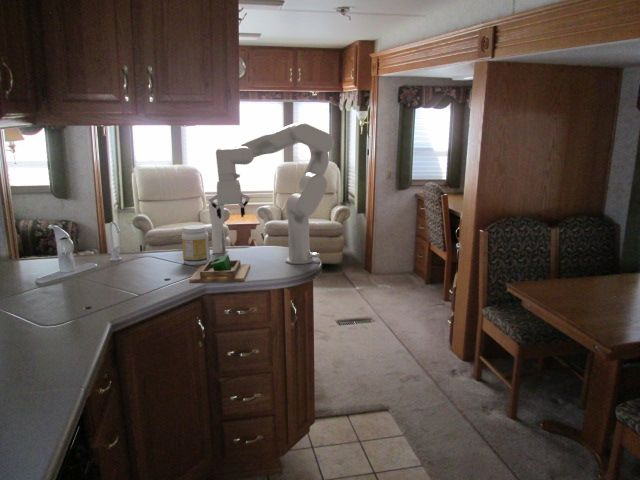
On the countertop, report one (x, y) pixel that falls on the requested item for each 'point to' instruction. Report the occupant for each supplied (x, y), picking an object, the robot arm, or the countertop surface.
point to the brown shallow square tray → (221, 273)
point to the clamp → (222, 263)
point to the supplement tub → (195, 245)
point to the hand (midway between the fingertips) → (231, 217)
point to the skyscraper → (217, 230)
